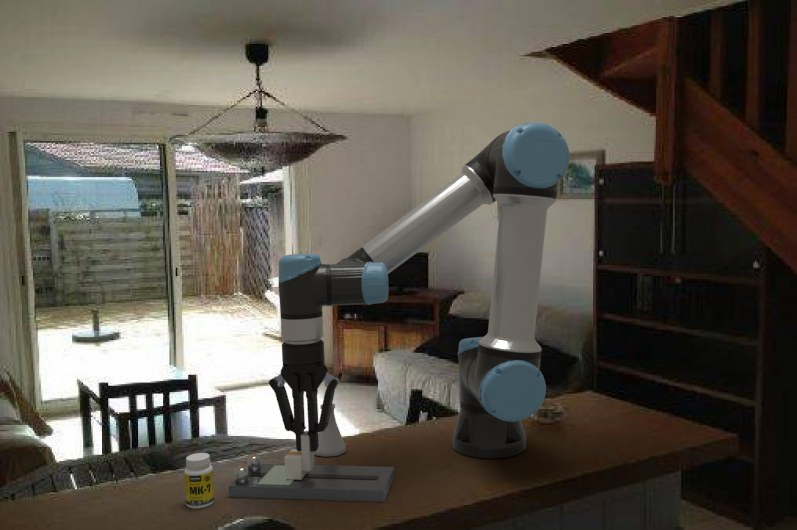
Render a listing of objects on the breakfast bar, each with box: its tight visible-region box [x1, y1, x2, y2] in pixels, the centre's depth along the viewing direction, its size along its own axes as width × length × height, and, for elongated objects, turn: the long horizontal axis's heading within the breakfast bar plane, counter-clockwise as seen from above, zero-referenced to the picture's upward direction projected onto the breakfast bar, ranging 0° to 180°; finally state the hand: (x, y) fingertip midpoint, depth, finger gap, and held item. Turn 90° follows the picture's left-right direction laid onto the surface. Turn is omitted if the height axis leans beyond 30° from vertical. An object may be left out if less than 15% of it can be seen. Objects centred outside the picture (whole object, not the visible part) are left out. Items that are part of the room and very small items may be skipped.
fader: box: [283, 448, 308, 480], centre depth 125 cm, size 3×4×4 cm
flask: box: [314, 402, 347, 458], centre depth 143 cm, size 7×7×10 cm
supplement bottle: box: [184, 452, 215, 510], centre depth 119 cm, size 5×5×8 cm
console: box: [228, 453, 395, 503], centre depth 125 cm, size 28×11×5 cm, turn 81°
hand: (308, 468), depth 125 cm, fingers closed
